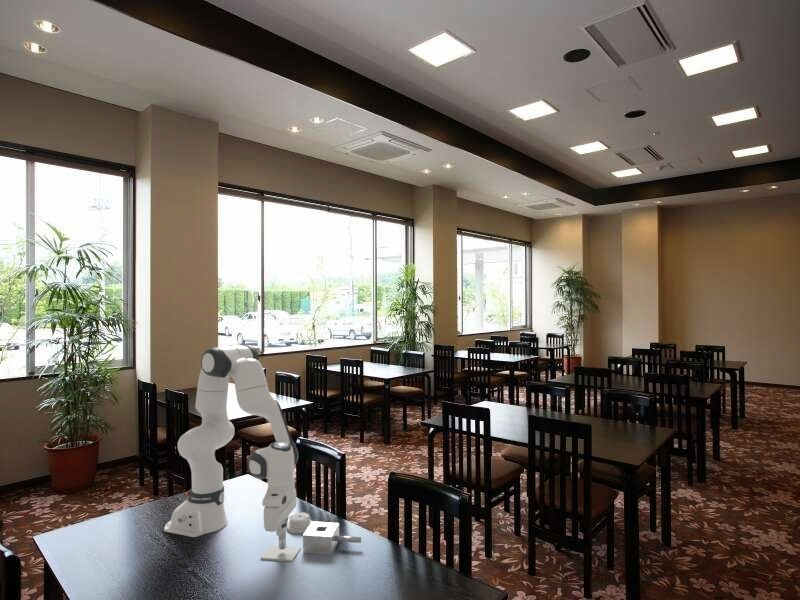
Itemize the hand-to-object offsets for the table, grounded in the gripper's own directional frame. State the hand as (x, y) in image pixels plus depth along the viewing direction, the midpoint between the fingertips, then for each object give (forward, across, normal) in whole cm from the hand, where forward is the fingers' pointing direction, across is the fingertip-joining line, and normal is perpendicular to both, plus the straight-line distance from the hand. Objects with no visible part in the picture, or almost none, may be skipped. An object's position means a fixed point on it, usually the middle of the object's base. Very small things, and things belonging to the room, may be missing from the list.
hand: (281, 532), depth 160 cm
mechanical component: (+8, -19, -1) cm, 21 cm away
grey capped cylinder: (+5, 0, 0) cm, 5 cm away
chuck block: (+8, -7, +16) cm, 19 cm away
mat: (+8, 0, 0) cm, 8 cm away
